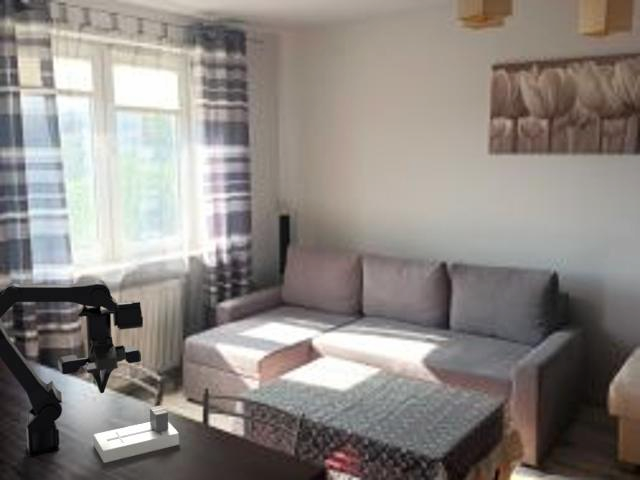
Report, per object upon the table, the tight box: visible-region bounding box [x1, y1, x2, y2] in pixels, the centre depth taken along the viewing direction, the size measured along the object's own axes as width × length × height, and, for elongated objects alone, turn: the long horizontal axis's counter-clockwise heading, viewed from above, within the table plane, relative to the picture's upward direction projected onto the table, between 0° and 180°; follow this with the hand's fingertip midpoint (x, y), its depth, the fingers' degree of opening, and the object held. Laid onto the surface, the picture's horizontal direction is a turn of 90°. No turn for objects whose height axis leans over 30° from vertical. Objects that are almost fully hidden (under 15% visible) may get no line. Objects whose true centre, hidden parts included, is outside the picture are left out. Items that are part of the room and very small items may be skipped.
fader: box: [149, 405, 169, 432], centre depth 159 cm, size 3×5×5 cm, turn 32°
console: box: [93, 421, 180, 464], centre depth 157 cm, size 18×10×3 cm, turn 122°
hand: (101, 392), depth 159 cm, fingers closed
